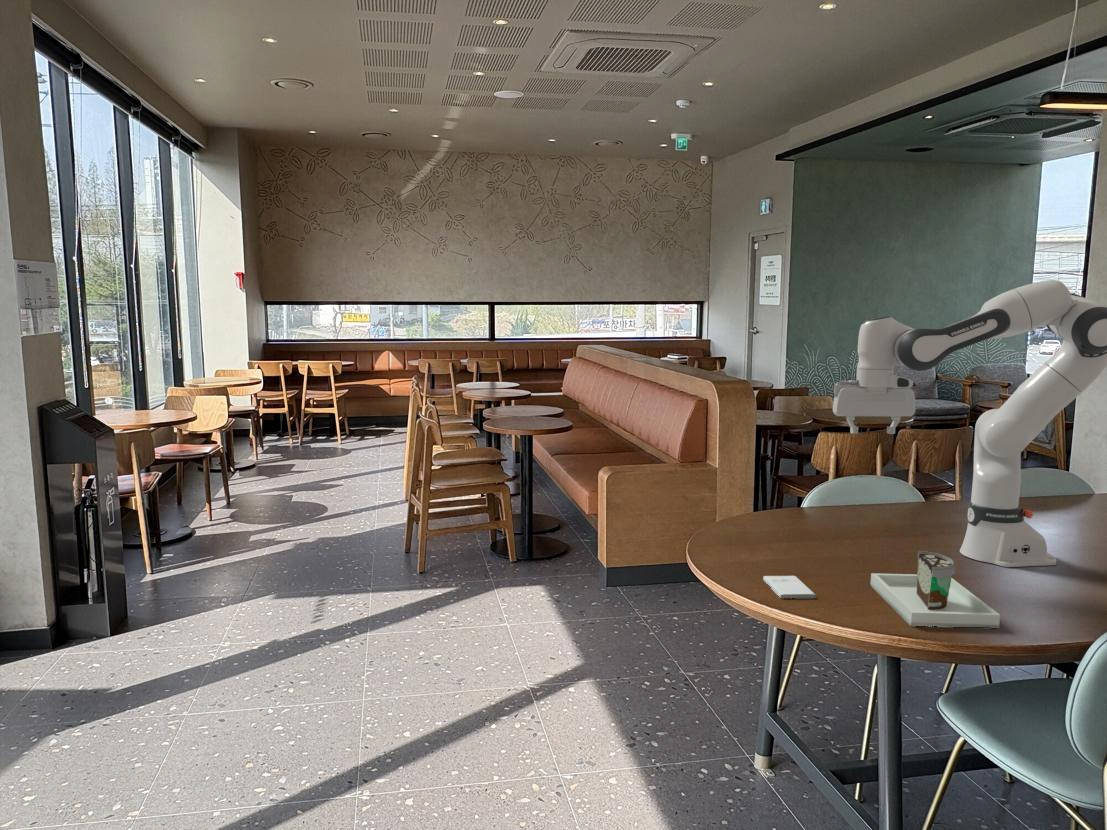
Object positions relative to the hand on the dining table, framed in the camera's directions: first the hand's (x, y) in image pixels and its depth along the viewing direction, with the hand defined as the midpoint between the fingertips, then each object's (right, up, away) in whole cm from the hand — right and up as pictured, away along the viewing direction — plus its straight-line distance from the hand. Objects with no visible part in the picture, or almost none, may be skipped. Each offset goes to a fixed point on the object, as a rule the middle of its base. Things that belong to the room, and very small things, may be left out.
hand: (872, 433), depth 206 cm
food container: (+3, -37, -29) cm, 47 cm away
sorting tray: (+2, -38, -28) cm, 47 cm away
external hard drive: (-27, -37, -19) cm, 49 cm away
